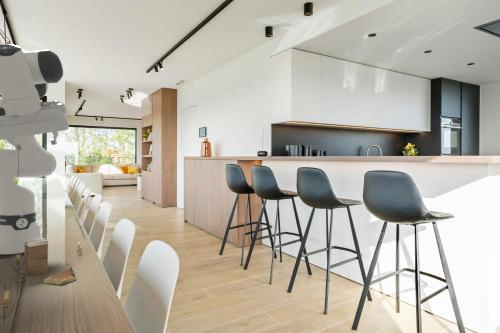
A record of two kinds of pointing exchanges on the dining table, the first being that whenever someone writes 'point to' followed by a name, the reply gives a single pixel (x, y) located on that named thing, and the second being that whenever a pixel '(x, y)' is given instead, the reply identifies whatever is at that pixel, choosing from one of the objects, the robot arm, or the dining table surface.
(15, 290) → the dining table surface
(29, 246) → the wooden block
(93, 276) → the dining table surface
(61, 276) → the shard
